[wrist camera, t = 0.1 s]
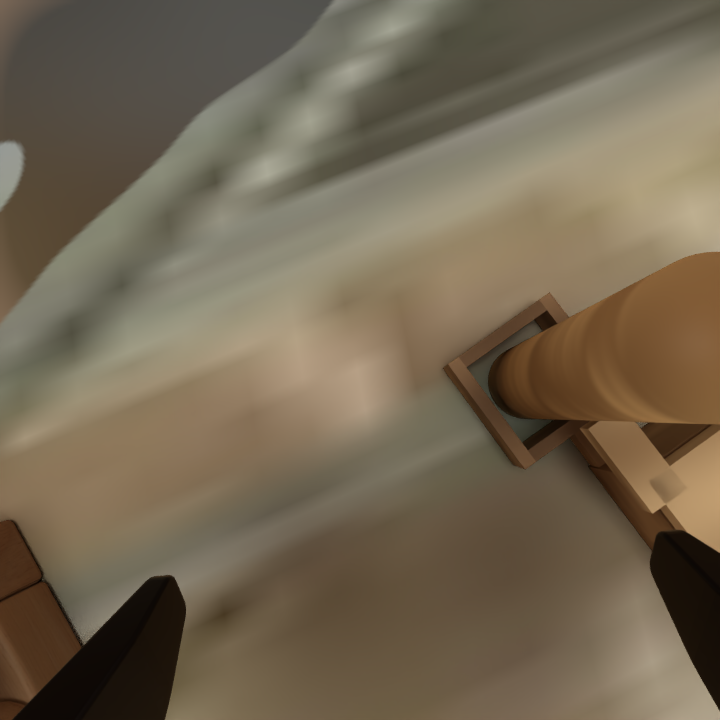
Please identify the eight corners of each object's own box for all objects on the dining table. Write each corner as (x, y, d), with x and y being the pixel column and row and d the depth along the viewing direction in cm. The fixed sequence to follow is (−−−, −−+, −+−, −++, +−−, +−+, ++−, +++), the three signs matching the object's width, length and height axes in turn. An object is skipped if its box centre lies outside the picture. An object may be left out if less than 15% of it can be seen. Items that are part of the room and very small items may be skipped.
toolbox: (909, 636, 21) (1035, 689, 17) (733, 766, 21) (818, 852, 17) (601, 256, 24) (646, 223, 20) (442, 368, 24) (454, 358, 20)
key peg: (576, 390, 23) (853, 357, 10) (517, 433, 23) (710, 460, 10) (531, 332, 24) (733, 219, 10) (473, 373, 24) (596, 316, 10)
